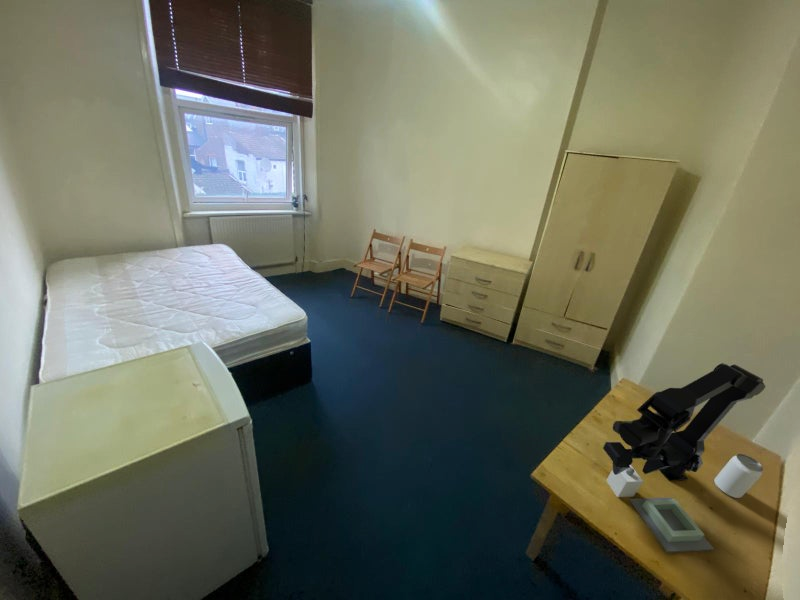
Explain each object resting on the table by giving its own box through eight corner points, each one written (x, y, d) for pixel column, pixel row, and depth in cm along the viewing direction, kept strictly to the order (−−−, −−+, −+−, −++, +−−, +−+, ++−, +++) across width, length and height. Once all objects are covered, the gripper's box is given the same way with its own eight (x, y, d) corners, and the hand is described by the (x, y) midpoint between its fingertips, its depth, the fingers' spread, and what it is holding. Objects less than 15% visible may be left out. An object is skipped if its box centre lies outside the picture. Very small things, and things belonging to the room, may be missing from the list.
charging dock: (670, 498, 94) (675, 492, 92) (712, 550, 82) (719, 543, 81) (629, 500, 92) (633, 493, 91) (666, 552, 81) (672, 545, 79)
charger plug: (621, 480, 98) (632, 461, 94) (633, 496, 93) (645, 477, 89) (606, 480, 97) (617, 461, 93) (617, 497, 93) (629, 478, 89)
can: (707, 478, 101) (728, 452, 95) (726, 478, 101) (748, 452, 96) (728, 499, 95) (751, 472, 90) (747, 498, 96) (772, 472, 90)
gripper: (660, 411, 93) (638, 447, 100) (601, 411, 91) (582, 448, 98) (695, 443, 83) (667, 482, 90) (629, 445, 81) (606, 484, 88)
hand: (629, 472), depth 92 cm, fingers open, 9 cm apart
